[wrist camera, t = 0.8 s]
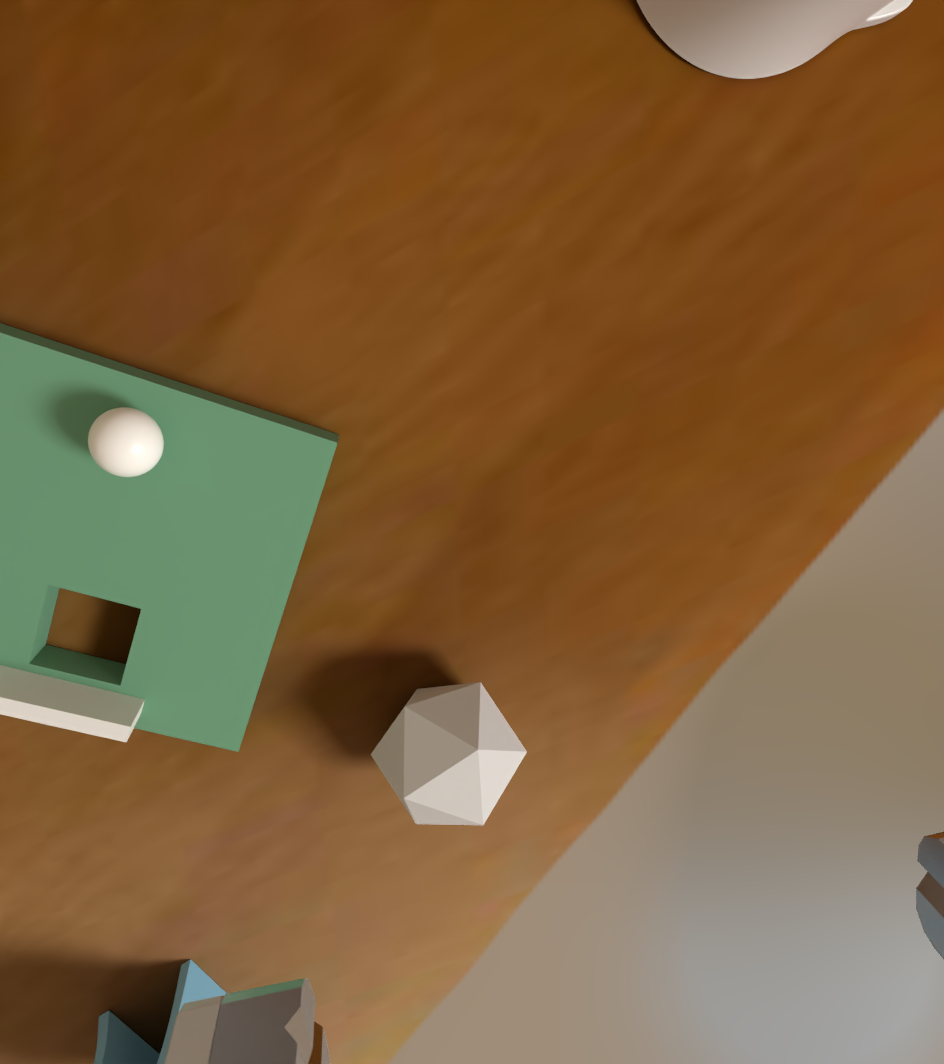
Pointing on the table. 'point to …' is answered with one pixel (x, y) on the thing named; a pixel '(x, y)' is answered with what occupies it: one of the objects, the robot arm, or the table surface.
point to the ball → (125, 442)
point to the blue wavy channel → (132, 1060)
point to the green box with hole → (145, 544)
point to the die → (449, 755)
